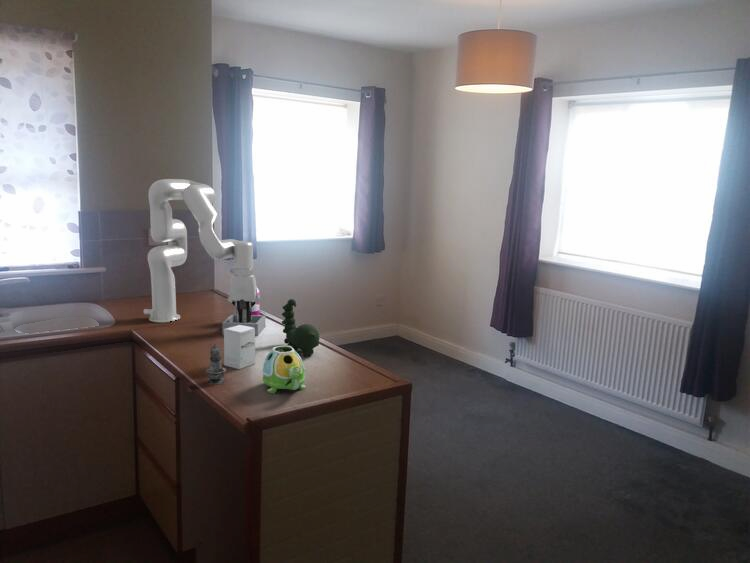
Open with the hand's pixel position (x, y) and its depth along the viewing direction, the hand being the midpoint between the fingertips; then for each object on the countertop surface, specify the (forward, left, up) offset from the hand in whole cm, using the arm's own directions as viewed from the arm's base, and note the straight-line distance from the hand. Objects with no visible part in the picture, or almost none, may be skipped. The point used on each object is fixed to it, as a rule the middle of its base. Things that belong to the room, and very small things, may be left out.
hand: (244, 316), depth 233 cm
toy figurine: (+27, -25, -6) cm, 37 cm away
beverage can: (0, 0, -3) cm, 3 cm away
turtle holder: (+28, -62, -6) cm, 68 cm away
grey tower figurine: (+6, -58, -6) cm, 59 cm away
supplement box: (+9, -42, -6) cm, 43 cm away
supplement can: (-1, +14, -6) cm, 15 cm away
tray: (0, 0, -6) cm, 6 cm away
